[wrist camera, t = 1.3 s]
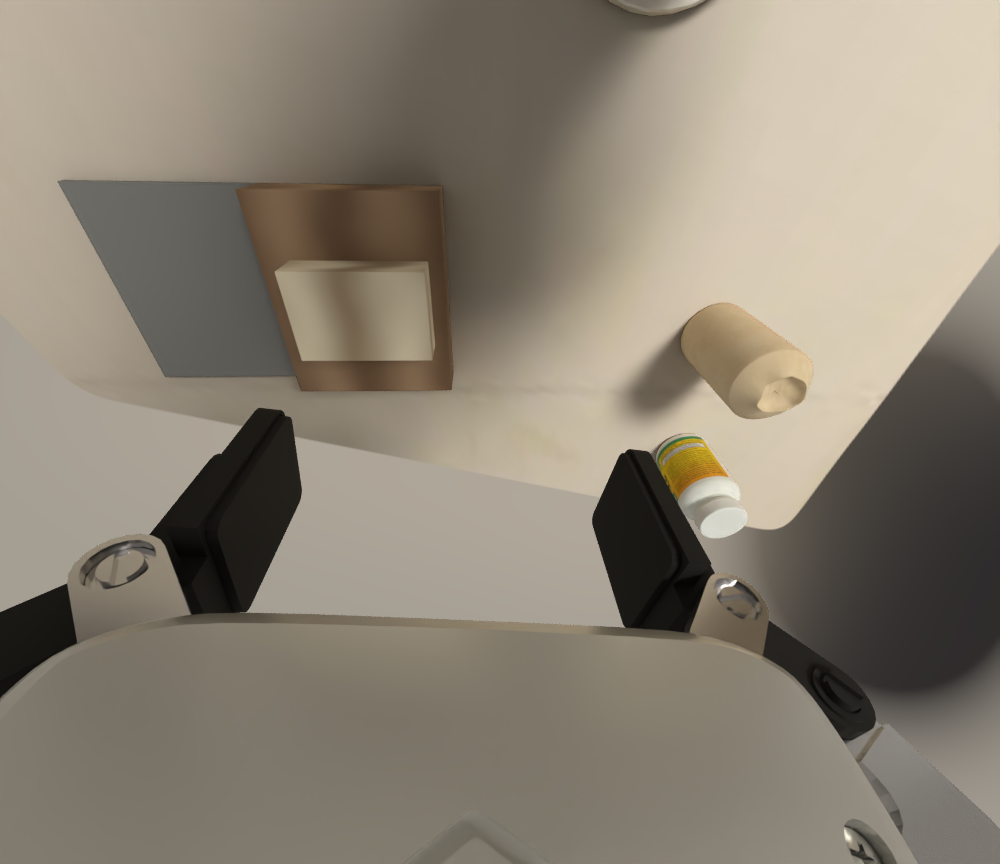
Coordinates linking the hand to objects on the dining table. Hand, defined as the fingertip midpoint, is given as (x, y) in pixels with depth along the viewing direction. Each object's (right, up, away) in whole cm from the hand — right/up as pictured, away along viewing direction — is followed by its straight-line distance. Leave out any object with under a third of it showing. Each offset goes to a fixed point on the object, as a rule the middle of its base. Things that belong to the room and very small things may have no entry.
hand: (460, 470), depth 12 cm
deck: (-9, +12, +19) cm, 24 cm away
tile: (-8, +9, +16) cm, 20 cm away
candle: (+19, +9, +23) cm, 31 cm away
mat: (-21, +12, +19) cm, 30 cm away
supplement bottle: (+20, -1, +31) cm, 37 cm away
